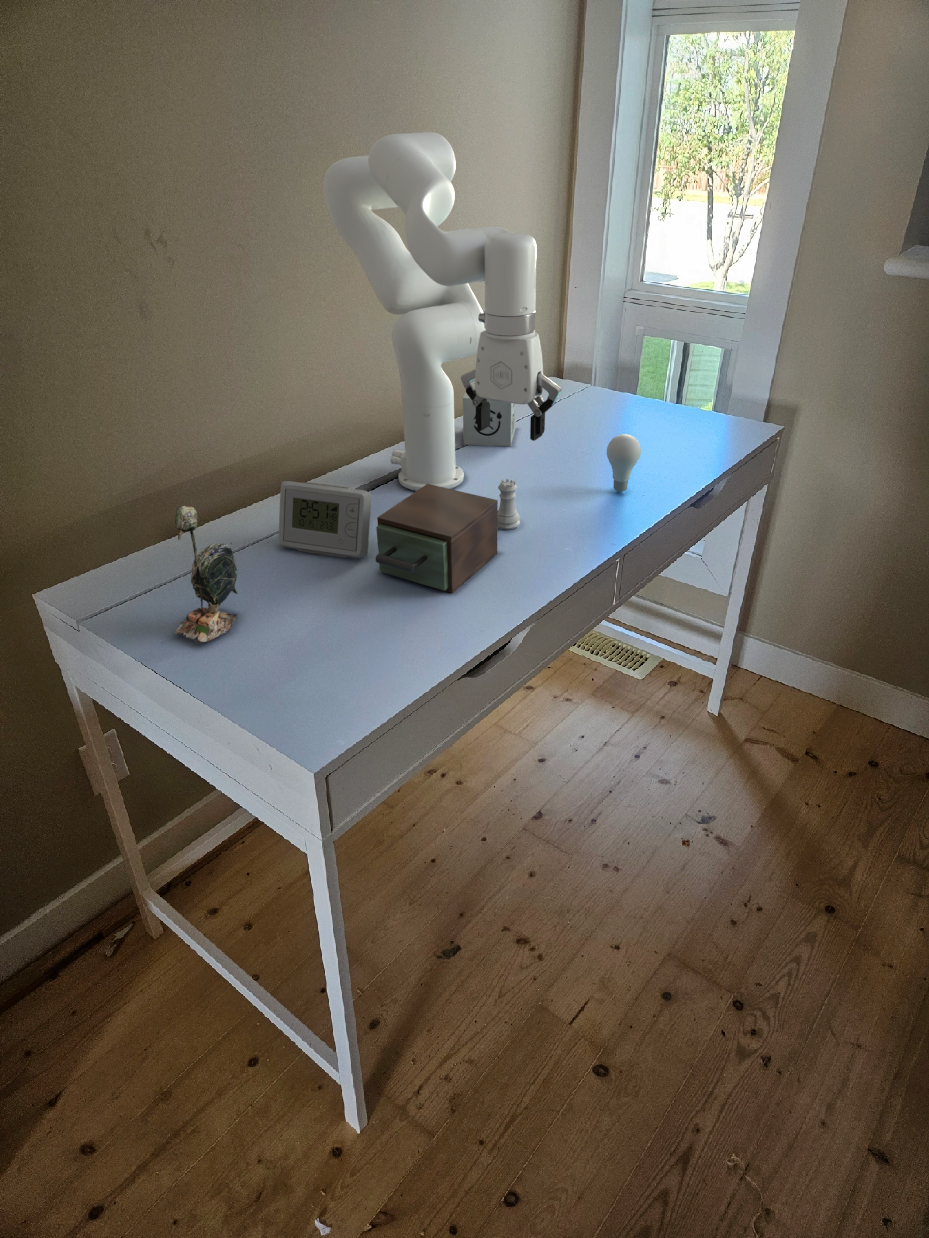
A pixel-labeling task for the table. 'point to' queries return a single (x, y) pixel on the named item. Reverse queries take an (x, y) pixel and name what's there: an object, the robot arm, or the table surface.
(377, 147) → the robot arm
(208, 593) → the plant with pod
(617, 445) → the lightbulb
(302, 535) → the digital clock
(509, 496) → the rook chess piece
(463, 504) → the cabinet
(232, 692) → the table surface
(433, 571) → the drawer
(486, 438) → the icon cube
